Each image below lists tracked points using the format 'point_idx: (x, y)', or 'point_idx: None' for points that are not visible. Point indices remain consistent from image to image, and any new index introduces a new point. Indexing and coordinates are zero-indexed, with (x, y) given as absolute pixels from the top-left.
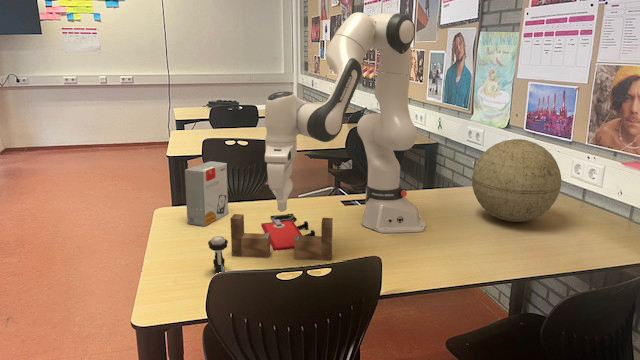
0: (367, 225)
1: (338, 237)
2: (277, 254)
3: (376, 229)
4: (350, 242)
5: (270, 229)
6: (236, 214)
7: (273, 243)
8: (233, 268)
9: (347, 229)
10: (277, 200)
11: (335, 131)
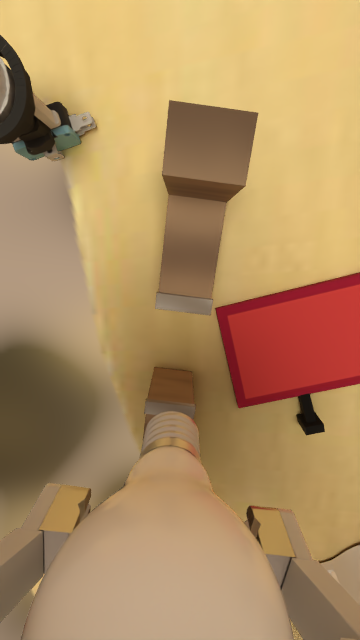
0: (357, 552)
1: (297, 477)
2: (187, 319)
3: (328, 565)
4: (258, 500)
5: None
6: (249, 134)
7: (261, 305)
8: (81, 188)
9: (352, 502)
10: (140, 459)
11: None
